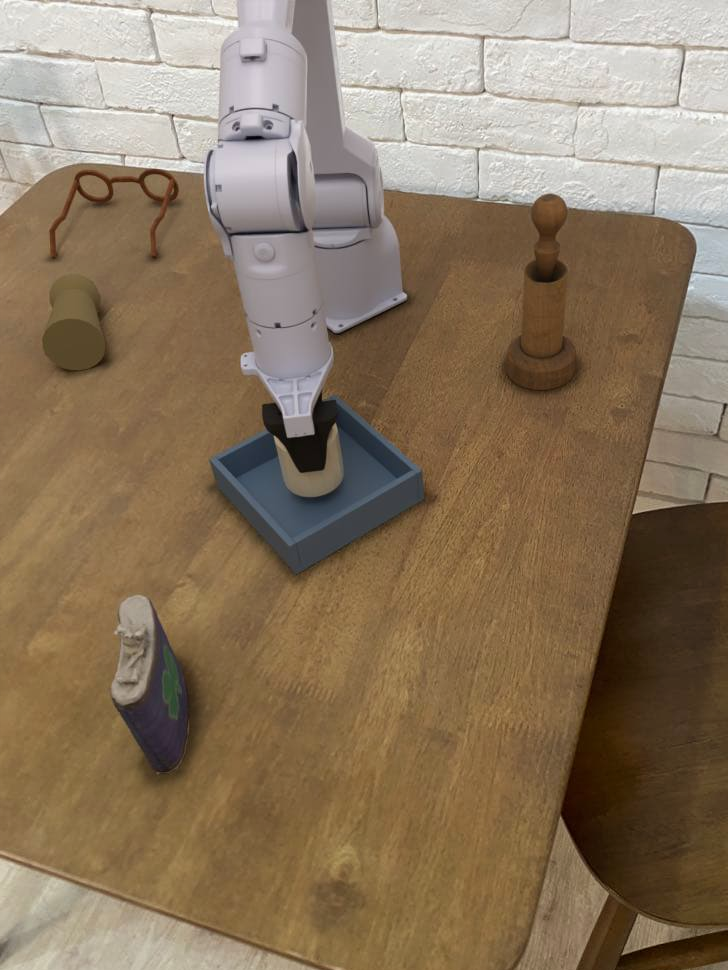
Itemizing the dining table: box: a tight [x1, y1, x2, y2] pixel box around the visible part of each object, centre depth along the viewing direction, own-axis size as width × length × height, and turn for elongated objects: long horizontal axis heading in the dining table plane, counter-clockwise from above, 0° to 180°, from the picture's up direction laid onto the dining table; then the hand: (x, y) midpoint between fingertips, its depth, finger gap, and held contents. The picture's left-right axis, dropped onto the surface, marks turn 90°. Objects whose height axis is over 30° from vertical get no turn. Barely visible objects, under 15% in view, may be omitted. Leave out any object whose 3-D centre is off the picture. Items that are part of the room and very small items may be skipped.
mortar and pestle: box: [505, 193, 577, 391], centre depth 85 cm, size 7×6×18 cm
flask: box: [109, 594, 191, 776], centre depth 64 cm, size 9×3×11 cm, turn 8°
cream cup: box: [274, 423, 344, 497], centre depth 79 cm, size 5×5×5 cm
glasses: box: [49, 168, 180, 259], centre depth 113 cm, size 13×13×5 cm
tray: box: [208, 393, 425, 575], centre depth 81 cm, size 13×13×4 cm
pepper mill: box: [41, 273, 106, 371], centre depth 98 cm, size 6×6×11 cm
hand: (309, 444), depth 78 cm, fingers closed on cream cup, 5 cm apart
